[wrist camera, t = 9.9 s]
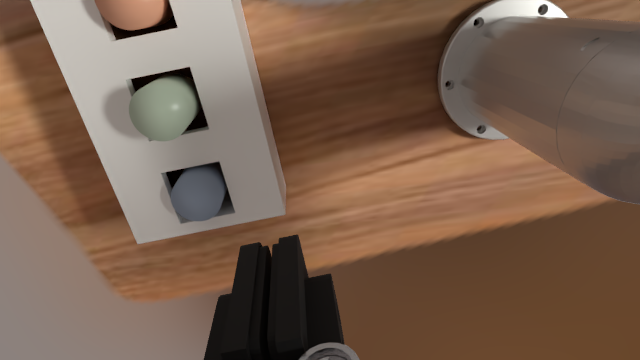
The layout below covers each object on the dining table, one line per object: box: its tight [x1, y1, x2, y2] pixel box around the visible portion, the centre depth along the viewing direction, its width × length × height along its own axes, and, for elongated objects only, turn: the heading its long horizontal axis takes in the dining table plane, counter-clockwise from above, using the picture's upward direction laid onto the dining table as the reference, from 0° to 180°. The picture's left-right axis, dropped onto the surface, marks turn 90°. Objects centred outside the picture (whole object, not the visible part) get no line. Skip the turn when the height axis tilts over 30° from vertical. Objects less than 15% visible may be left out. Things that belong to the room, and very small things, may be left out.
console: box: [30, 0, 286, 244], centre depth 33 cm, size 13×22×6 cm, turn 10°
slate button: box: [171, 161, 227, 221], centre depth 35 cm, size 4×4×5 cm
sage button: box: [129, 73, 202, 141], centre depth 30 cm, size 4×4×5 cm
